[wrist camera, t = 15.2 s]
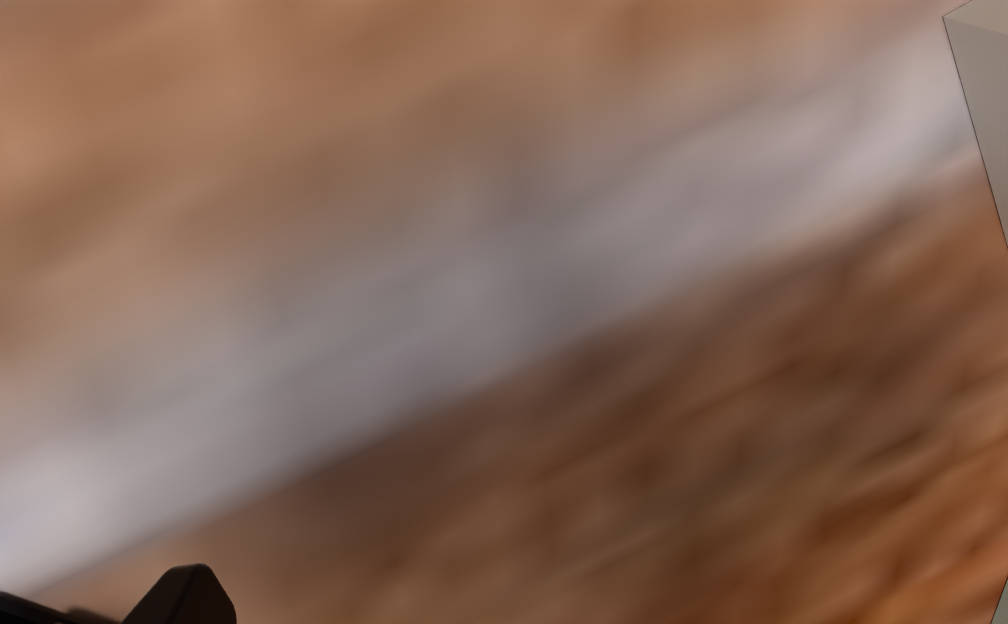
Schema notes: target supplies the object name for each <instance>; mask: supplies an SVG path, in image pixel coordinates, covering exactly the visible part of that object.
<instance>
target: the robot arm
mask: <svg viewBox="0 0 1008 624" xmlns="http://www.w3.org/2000/svg"><path fill="white" fill-rule="evenodd" d="M0 624H76V623H74V622H71V621H68V620H65V619H62V618H59V617H56V616H54V615H51V614H48V613H45V612H42V611H39V610H36V609H34V608H31V607H28V606H25V605H22V604H19V603H16V602H14V601H11V600H8V599H5V598H2V597H0ZM120 624H237V620H236V612H235V609H234V606H233V604H232V602H231V600H230V598H229V597H228V595H227V594H226V592H225V590H224V589H223V587H222V586H221V584H220V582H219V581H218V579H217V578H216V576H215V574H214V573H213V571H212V570H211V568H210V567H209V566H207V565H205V564H202V563H198V564H190V565H183V566H177V567H173V568H171V569H169V570H168V571H167V572H165V573H164V574H163V575H162V576H161V578H160V579H159V580H158V581H157V582H156V583H155V584H154V586H153V587H152V588H151V589H150V590H149V591H148V592H147V593H146V595H145V596H144V597H143V598H142V599H141V600H140V601H139V603H138V604H137V605H136V606H135V607H134V608H133V609H132V610H131V612H130V613H129V614H128V615H127V616H126V617H125V618H124V619H123V621H122V622H121V623H120Z"/></svg>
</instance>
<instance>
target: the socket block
mask: <svg viewBox="0 0 1008 624" xmlns="http://www.w3.org/2000/svg"><path fill="white" fill-rule="evenodd" d="M943 19H944V22H945V26H946V29H947V33H948V36H949V40H950V43H951V47H952V50H953V54H954V58H955V61H956V65H957V68H958V72H959V75H960V79H961V82H962V86H963V89H964V93H965V96H966V100H967V104H968V107H969V111H970V114H971V118H972V121H973V125H974V128H975V132H976V135H977V139H978V142H979V146H980V150H981V153H982V157H983V160H984V164H985V167H986V171H987V174H988V178H989V181H990V185H991V188H992V192H993V196H994V199H995V203H996V206H997V210H998V213H999V217H1000V220H1001V224H1002V227H1003V231H1004V234H1005V238H1006V242H1007V245H1008V0H972V1H970V2H969V3H967V4H965V5H963V6H961V7H960V8H958V9H956V10H954V11H952V12H951V13H949V14H947V15H945V16H943Z"/></svg>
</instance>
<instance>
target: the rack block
mask: <svg viewBox="0 0 1008 624" xmlns="http://www.w3.org/2000/svg"><path fill="white" fill-rule="evenodd" d="M991 624H1008V580H1007V582H1006V585H1005V588H1004V591H1003V593H1002V596H1001V599H1000V601H999V604H998V607H997V610H996V612H995V615H994V618H993V620H992V623H991Z"/></svg>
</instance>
